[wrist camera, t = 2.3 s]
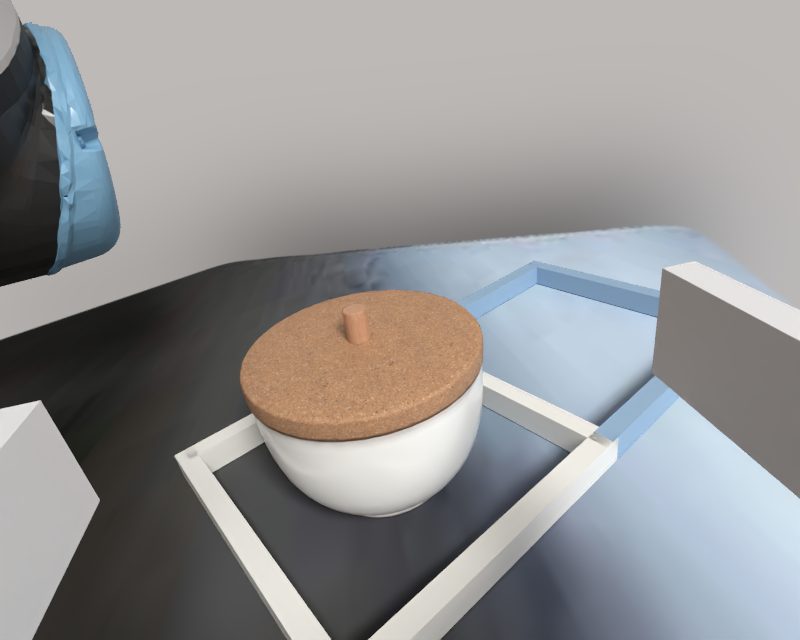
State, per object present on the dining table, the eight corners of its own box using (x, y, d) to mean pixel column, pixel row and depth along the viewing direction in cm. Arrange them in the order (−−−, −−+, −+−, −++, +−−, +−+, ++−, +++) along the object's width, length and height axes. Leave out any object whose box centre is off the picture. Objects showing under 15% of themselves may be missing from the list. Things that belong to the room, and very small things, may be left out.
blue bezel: (399, 353, 35) (395, 335, 34) (534, 276, 43) (534, 260, 42) (611, 465, 24) (613, 441, 23) (742, 332, 32) (746, 311, 31)
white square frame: (183, 476, 27) (174, 455, 26) (404, 350, 35) (401, 332, 35) (346, 734, 16) (337, 710, 15) (616, 459, 24) (618, 436, 23)
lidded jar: (309, 607, 20) (239, 423, 15) (268, 443, 29) (217, 299, 24) (537, 501, 22) (534, 321, 18) (435, 383, 32) (416, 243, 27)
